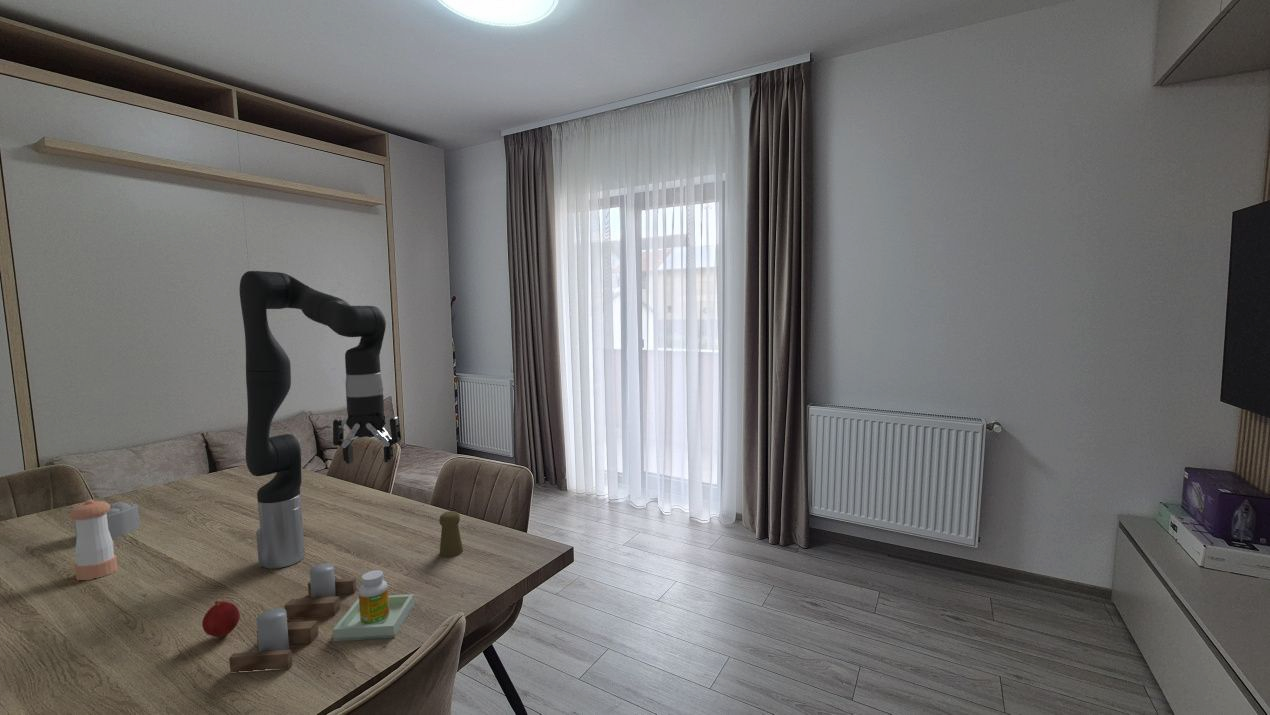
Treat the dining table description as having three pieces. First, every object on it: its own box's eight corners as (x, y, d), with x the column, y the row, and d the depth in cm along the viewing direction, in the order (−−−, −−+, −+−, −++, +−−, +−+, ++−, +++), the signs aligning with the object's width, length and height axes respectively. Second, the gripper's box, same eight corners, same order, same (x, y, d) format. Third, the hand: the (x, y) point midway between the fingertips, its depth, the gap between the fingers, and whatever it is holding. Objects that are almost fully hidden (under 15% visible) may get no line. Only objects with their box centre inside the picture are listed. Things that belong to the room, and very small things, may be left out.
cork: (455, 558, 136) (453, 518, 135) (434, 556, 137) (432, 516, 136) (467, 548, 142) (465, 509, 141) (447, 546, 143) (445, 507, 142)
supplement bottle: (370, 630, 104) (367, 584, 103) (355, 622, 107) (352, 577, 106) (394, 616, 109) (392, 572, 108) (379, 609, 112) (377, 566, 111)
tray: (333, 641, 102) (332, 629, 102) (360, 608, 113) (359, 597, 113) (394, 637, 103) (393, 625, 103) (414, 604, 114) (413, 594, 114)
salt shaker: (124, 568, 133) (116, 496, 131) (86, 583, 126) (78, 506, 124) (107, 564, 135) (99, 493, 134) (69, 578, 128) (60, 503, 127)
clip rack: (230, 673, 93) (229, 657, 93) (311, 593, 120) (310, 580, 120) (288, 669, 94) (287, 653, 94) (356, 590, 121) (355, 578, 120)
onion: (218, 629, 107) (215, 592, 106) (247, 627, 107) (244, 590, 106) (196, 647, 101) (193, 608, 100) (227, 645, 101) (224, 606, 100)
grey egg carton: (73, 538, 152) (70, 510, 151) (133, 522, 163) (130, 496, 163) (84, 546, 147) (81, 516, 146) (145, 529, 158) (142, 502, 157)
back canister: (309, 609, 113) (307, 575, 112) (314, 597, 117) (312, 564, 116) (333, 606, 114) (331, 572, 113) (337, 594, 119) (335, 561, 118)
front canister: (254, 664, 96) (250, 623, 95) (269, 648, 100) (266, 609, 99) (280, 662, 96) (276, 621, 95) (294, 646, 100) (291, 607, 100)
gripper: (323, 396, 114) (328, 468, 116) (390, 394, 115) (394, 465, 117) (340, 391, 122) (344, 458, 123) (402, 389, 123) (406, 456, 124)
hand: (369, 462), depth 120 cm, fingers open, 8 cm apart
